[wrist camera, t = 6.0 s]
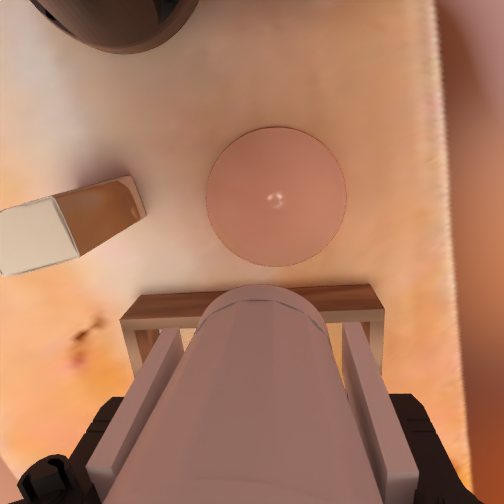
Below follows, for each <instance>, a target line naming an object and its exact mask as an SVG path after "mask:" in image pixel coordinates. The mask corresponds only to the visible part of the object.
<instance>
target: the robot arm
mask: <svg viewBox="0 0 504 504" xmlns="http://www.w3.org/2000/svg"><path fill="white" fill-rule="evenodd" d="M30 1H31V2H32V3H33V4H34V5H35V7H36V8H37V9H38V10H39V11H40V12H41V13H42V14H43V15H44V16H45V17H46V18H47V19H48V20H49V21H50V22H51V23H52V24H54V25H55V26H56V27H57V28H59V29H60V30H62V31H63V32H64V33H66V34H68V35H69V36H71V37H73V38H75V39H76V40H78V41H81V42H83V43H85V44H87V45H89V46H91V47H94V48H96V49H99V50H102V51H105V52H110V53H116V54H133V53H139V52H143V51H147V50H149V49H152V48H154V47H156V46H159V45H160V44H162V43H164V42H165V41H167V40H168V39H169V38H171V37H172V36H173V35H174V34H175V33H176V32H177V31H178V30H179V29H180V28H181V27H182V26H183V25H184V23H185V22H186V21H187V19H188V18H189V17H190V15H191V13H192V12H193V10H194V8H195V6H196V4H197V2H198V0H30ZM183 354H184V349H183V344H182V340H181V335H180V330H179V328H163V330H162V331H161V333H160V335H159V337H158V339H157V340H156V342H155V344H154V346H153V347H152V349H151V351H150V353H149V355H148V356H147V358H146V360H145V362H144V363H143V365H142V367H141V369H140V371H139V372H138V374H137V376H136V378H135V379H134V381H133V383H132V385H131V387H130V388H129V390H128V392H127V394H126V395H125V397H112V398H111V399H110V400H109V401H107V402H106V403H105V404H104V405H103V406H102V407H101V408H100V410H99V411H98V413H97V414H96V416H95V418H94V419H93V422H92V423H91V424H90V426H89V427H88V429H87V430H86V433H85V434H84V435H83V437H82V438H81V440H80V442H79V443H78V445H77V446H76V448H75V450H74V451H73V453H72V454H71V456H70V458H69V459H67V457H66V456H64V455H60V454H56V455H50V456H47V457H45V458H43V459H41V460H39V461H38V462H36V463H35V464H33V465H32V466H31V467H30V468H29V469H28V470H27V471H26V472H25V473H24V474H23V475H22V476H21V478H20V480H19V482H18V484H17V487H18V488H19V490H20V492H21V494H22V496H23V498H24V499H22V500H19V501H16V502H12V503H9V504H103V502H104V500H105V498H106V497H107V495H108V493H109V491H110V489H111V487H112V485H113V484H114V482H115V480H116V478H117V476H118V474H119V472H120V471H121V469H122V467H123V465H124V463H125V461H126V460H127V458H128V456H129V454H130V452H131V450H132V448H133V447H134V445H135V443H136V441H137V439H138V437H139V436H140V434H141V432H142V430H143V428H144V426H145V424H146V423H147V421H148V419H149V417H150V415H151V413H152V412H153V410H154V408H155V406H156V404H157V402H158V400H159V399H160V397H161V395H162V393H163V391H164V389H165V388H166V386H167V384H168V382H169V380H170V378H171V376H172V375H173V373H174V371H175V369H176V367H177V365H178V364H179V362H180V360H181V358H182V356H183ZM342 374H343V378H344V383H345V387H346V391H347V395H348V399H349V403H350V407H351V410H352V412H353V415H354V418H355V421H356V424H357V427H358V430H359V433H360V436H361V439H362V442H363V445H364V448H365V451H366V454H367V457H368V460H369V463H370V466H371V469H372V472H373V475H374V478H375V481H376V484H377V487H378V490H379V493H380V496H381V499H382V502H383V504H484V503H482V502H481V501H479V500H478V499H477V498H476V496H475V495H473V494H472V493H471V492H470V491H469V490H467V489H466V488H465V486H464V485H463V484H462V482H461V480H460V479H459V477H458V475H457V473H456V471H455V469H454V467H453V465H452V463H451V461H450V459H449V457H448V455H447V453H446V451H445V449H444V447H443V445H442V443H441V441H440V439H439V437H438V435H437V434H436V431H435V429H434V427H433V425H432V423H431V422H430V419H429V417H428V415H427V412H426V410H425V408H424V406H423V405H422V404H421V403H420V402H419V401H418V400H417V399H416V398H415V397H414V396H413V395H412V394H388V392H387V389H386V387H385V384H384V381H383V379H382V376H381V374H380V371H379V369H378V366H377V364H376V361H375V358H374V356H373V353H372V351H371V348H370V346H369V343H368V341H367V338H366V336H365V333H364V330H363V328H362V325H361V323H360V322H344V323H342Z"/></svg>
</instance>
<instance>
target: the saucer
mask: <svg viewBox="0 0 504 504" xmlns="http://www.w3.org/2000/svg"><path fill="white" fill-rule="evenodd" d="M346 197H347V196H346V185H345V180H344V176H343V174H342V171H341V168H340V166H339V164H338V163H337V161H336V159H335V158H334V156H333V155H332V154H331V152H330V151H329V150H328V149H327V148H326V147H325V146H324V145H323V144H321V143H320V142H319V141H318V140H316V139H315V138H313V137H311V136H310V135H308V134H305V133H303V132H301V131H298V130H294V129H290V128H281V127H276V128H265V129H260V130H256V131H253V132H250V133H248V134H246V135H244V136H242V137H240V138H239V139H237V140H236V141H234V142H233V143H232V144H231V145H230V146H228V147H227V148H226V149H225V150H224V152H223V153H222V154H221V155H220V156H219V158H218V160H217V161H216V163H215V164H214V166H213V169H212V171H211V173H210V176H209V179H208V183H207V189H206V207H207V212H208V217H209V219H210V222H211V225H212V227H213V229H214V231H215V233H216V234H217V236H218V237H219V239H220V240H221V241H222V243H223V244H224V245H225V246H226V247H227V248H228V249H229V250H230V251H232V252H233V253H234V254H236V255H237V256H239V257H240V258H242V259H244V260H246V261H249V262H251V263H254V264H258V265H262V266H269V267H282V266H289V265H294V264H297V263H300V262H303V261H305V260H307V259H309V258H311V257H313V256H314V255H316V254H317V253H318V252H320V251H321V250H322V249H323V248H324V247H325V246H326V245H327V244H328V243H329V242H330V241H331V240H332V238H333V237H334V235H335V234H336V232H337V231H338V229H339V227H340V225H341V222H342V219H343V217H344V213H345V208H346Z"/></svg>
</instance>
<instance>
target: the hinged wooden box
mask: <svg viewBox="0 0 504 504" xmlns="http://www.w3.org/2000/svg"><path fill="white" fill-rule="evenodd" d="M285 289H288V290H290V291H293V292H295V293H297V294H298V295H300V296H302V297H303V298H305V299H306V300H307V301H309V302H310V303H311V304H312V305H313V306H314V307H315V308H316V309H317V310H318V312H319V313H320V314H321V316H322V318H323V319H324V321H325V323H343V322H360V323H361V325H362V328H363V330H364V333H365V336H366V338H367V341H368V343H369V346H370V348H371V351H372V353H373V356H374V358H375V361H376V364H377V366H378V369H379V371H380V374H381V376H382V356H383V335H384V314H385V309H384V307H383V305H382V304H381V302H380V300H379V299H378V297H377V295H376V294H375V292H374V290H373V289H372V287H371V285H370V284H367V285H346V286H326V287H305V288H285ZM226 292H228V291H223V292H202V293H182V294H161V295H141V296H140V297H139V298H138V299H137V300H136V301H135V302H134V304H133V305H132V306H131V307H130V308H129V309H128V311H127V312H126V313H125V314H124V315H123V316H122V318H121V319H120V324H121V327H122V331H123V335H124V339H125V343H126V347H127V350H128V354H129V358H130V362H131V366H132V369H133V373H134V377H135V378H136V376H137V374H138V372H139V371H140V369H141V367H142V365H143V363H144V362H145V360H146V358H147V356H148V355H149V353H150V351H151V349H152V347H153V346H154V344H155V342H156V340H157V339H158V337H159V335H160V334H159V329H163V328H179V329H180V328H197V326H198V324H199V321H200V319H201V317H202V315H203V313H204V311H205V310H206V308H207V307H208V306H209V305H210V304H211V303H212V302H213V301H214V300H215V299H216V298H218V297H219V296H221V295H222V294H224V293H226ZM347 398H348V395H347ZM348 401H349V399H348ZM349 404H350V403H349Z"/></svg>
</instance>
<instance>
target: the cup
mask: <svg viewBox="0 0 504 504" xmlns="http://www.w3.org/2000/svg"><path fill="white" fill-rule="evenodd" d="M103 504H383V502H382V499H381V496H380V493H379V490H378V487H377V484H376V481H375V478H374V475H373V472H372V469H371V466H370V463H369V460H368V457H367V454H366V451H365V448H364V445H363V442H362V439H361V436H360V433H359V430H358V427H357V424H356V421H355V418H354V415H353V412H352V410H351V407H350V404H349V401H348V398H347V395H346V392H345V389H344V386H343V383H342V380H341V377H340V374H339V371H338V368H337V365H336V362H335V359H334V356H333V352H332V347H331V343H330V338H329V334H328V329H327V326H326V324H325V321H324V319H323V318H322V316H321V314H320V313H319V312H318V310H317V309H316V308H315V307H314V306H313V305H312V304H311V303H310V302H309V301H307V300H306V299H305V298H303V297H302V296H300V295H298V294H297V293H295V292H293V291H290V290H288V289H285V288H282V287H278V286H272V285H262V284H258V285H247V286H242V287H238V288H235V289H232V290H230V291H228V292H226V293H224V294H222V295H221V296H219V297H218V298H216V299H215V300H214V301H213V302H212V303H211V304H210V305H209V306H208V307H207V308H206V310H205V311H204V313H203V315H202V317H201V319H200V321H199V324H198V326H197V329H196V331H195V334H194V336H193V338H192V340H191V341H190V343H189V345H188V347H187V349H186V351H185V352H184V354H183V356H182V358H181V360H180V362H179V364H178V365H177V367H176V369H175V371H174V373H173V375H172V376H171V378H170V380H169V382H168V384H167V386H166V388H165V389H164V391H163V393H162V395H161V397H160V399H159V400H158V402H157V404H156V406H155V408H154V410H153V412H152V413H151V415H150V417H149V419H148V421H147V423H146V424H145V426H144V428H143V430H142V432H141V434H140V436H139V437H138V439H137V441H136V443H135V445H134V447H133V448H132V450H131V452H130V454H129V456H128V458H127V460H126V461H125V463H124V465H123V467H122V469H121V471H120V472H119V474H118V476H117V478H116V480H115V482H114V484H113V485H112V487H111V489H110V491H109V493H108V495H107V497H106V498H105V500H104V502H103Z"/></svg>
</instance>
